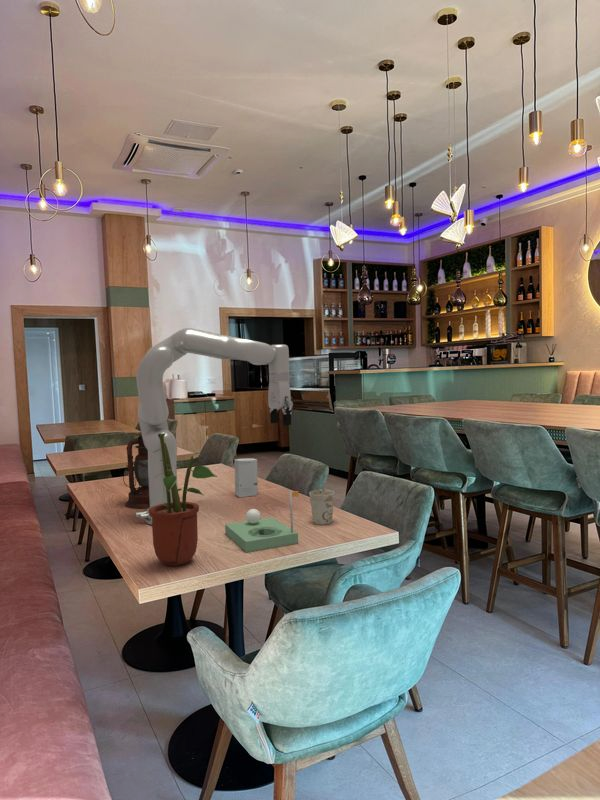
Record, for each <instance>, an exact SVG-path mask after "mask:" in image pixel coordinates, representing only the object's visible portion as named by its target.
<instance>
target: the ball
mask: <svg viewBox="0 0 600 800" xmlns="http://www.w3.org/2000/svg"><path fill="white" fill-rule="evenodd" d="M261 517H262V516H261V513H260V511H259V510H258V509H256V508H251V509H248V511H247V512H246V514H245V521H248V522H249V523H251V524H256V523H257V522H259V520H260V519H262V518H261Z"/></svg>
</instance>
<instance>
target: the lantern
mask: <svg viewBox="0 0 600 800" xmlns="http://www.w3.org/2000/svg"><path fill="white" fill-rule="evenodd" d="M135 436H137V438H133V439H131V440H129V441H128V443H127V446H126V449H125V450H126V456H127V457H126V458H127V465H126V466H125V468H124V470H123V476H122V479H123V484H124V485H125V486H126V488H129V492H128V500H127V501H126V502H125V504H124V506H125V507H126V508H128V509H133V510H148V508H149V507H150V499H149V477H148V450H147V449H146V447H145V445H144V442H143V438H142V433H141V431H140V432H138V433H135ZM137 444H138V445H137ZM133 445H136V446H135V447H134V448H135V449H137V454H136V456H135V458H134V456H133ZM127 469H128V473H127V474H128V485H127V484H126V483H125V473H126V470H127ZM137 483H138V487H136V485H137Z"/></svg>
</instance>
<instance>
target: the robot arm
mask: <svg viewBox="0 0 600 800" xmlns="http://www.w3.org/2000/svg"><path fill="white" fill-rule="evenodd" d="M289 350H290V349H289V346H288V345H287V344H284V343H283V344H268V343H266V342H262V341H257V340H252V339H246V338H240V337H235V336H230V335H225V334H220V333H216V332H215V333H214V332H211V331H205V330H201V329H196V328H193V327H192V328H191V327H185V328H182V329H180V330H178V331H176V332H175V333H173V334H172V335H170V336H169V337H167V338H165V339H164V340H162V341H160V342H159V343H157V344H155V345H154V346H151V348H149V349H148V350H147V351H146V353H145V355H144V356H143V357H142V358H141V360H140V362H139V364H138V367H137V370H136V374H135V375H136V388H137V393H138V400H139V404H138V407H137V418H138V423H139V424H138V425H139V428H140V432H141V433H142V438H143V442H144V445H145V447H146V449H147V450H148V477H149V499H150V507H149V508H148V509H144V511H136V512H135V518H136V519H138V518H139V519H145V523H146V524H147V525H151V526H152V517H151V516H150V515H149V509H150V508H151V507H153V506H156V505H159V504H164V503H167V494H166V487H165V485H164V483H163V479H164V477H165V475H164V467H163V461H161V460H163V458H162V450H161V443H160V439H159V437H158V434H164V433H166V434H165V435H164V443H166V446H167V449H168V452H169V457H170V462H171V467H172V471H173V474H174V476H176V477H177V478H176V485H177V489H179V488H178V472H177V471H178V466H177V463H178V461H177V456H178V455H177V454H178V442H177V439H176V437H175V435H174V434H173V433H172V432H171V431H170V430H169V425H168V418H169V413H170V411H169V406H168V403H167V397H166V395H165V394H166V393H165V387H164V381H163V380H164V378H163V377H164V373H165V371H166V370H168V369H169V368H170V367H171V366H172V365H173V364H174V363H176V361H178V360H180V359H182V357H184V356H186V355H187V354H193V355H198V356H205V357H210V358H213V359H219V360H236V361H237V360H238V361H245V362H248V363H250V364H252V365H255V366H262V365H263V366H264V365H268V377H269V379H268V380H269V381H268V382H269V383H268V391H267V392H268V396H267V399H268V401H267V402H268V403H267V404H268V405H267V406H268V408H269V414H270V423H271V424H279V421H280V420H279V418H280V417H279V410H280V409H281V410H282V413H283V414H282V425H283V426H292V411H293V405H294V402H293V401H292V397H291V386H290V382H291V381H290V378H291V377H290V354H289V353H290V351H289ZM159 449H160V450H159ZM157 450H158V451H157ZM153 451H154V452H153ZM155 451H156V452H155ZM159 474H160V475H159ZM157 475H158V476H157ZM170 495H171V502H173V501H172V493H171V490H170Z"/></svg>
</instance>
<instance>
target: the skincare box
mask: <svg viewBox="0 0 600 800" xmlns="http://www.w3.org/2000/svg"><path fill="white" fill-rule="evenodd" d="M258 484H259V483H258V459H257V458H253V457H251V458H250V457H249V458H237V459H236V458H235V459H234V495H235V496H236V497H238V498H247V497H254V496H255V497H256V496H258V493H259V492H258V488H259V487H258Z"/></svg>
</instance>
